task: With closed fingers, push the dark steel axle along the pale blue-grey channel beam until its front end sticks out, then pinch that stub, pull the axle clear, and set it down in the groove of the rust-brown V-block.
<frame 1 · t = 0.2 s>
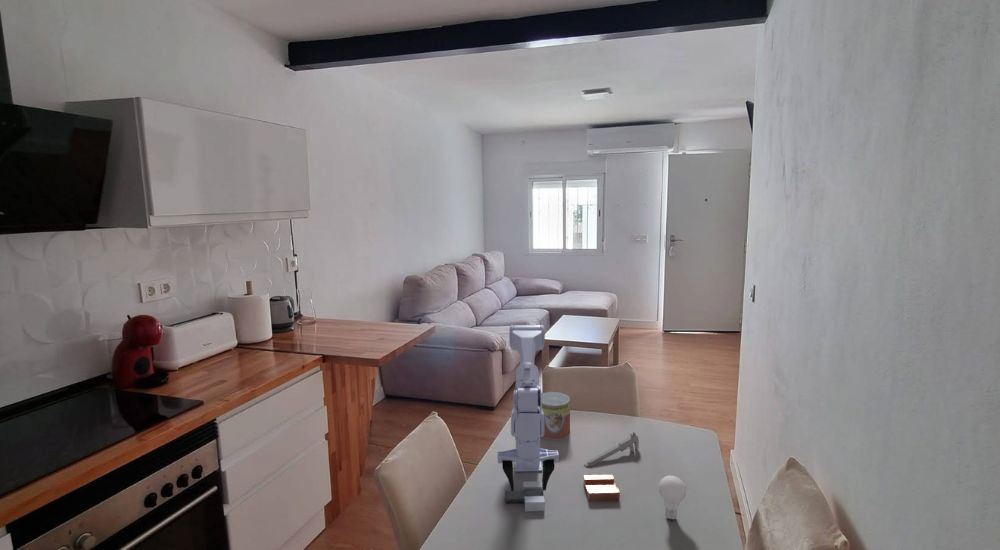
hand: (528, 488, 116), 10 cm above the table, tool pointing down, fingers open, 7 cm apart
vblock: (601, 492, 130), on the table
axle: (524, 501, 127), on the table
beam: (533, 500, 127), on the table
lightbulb: (670, 518, 119), on the table
caliper: (612, 459, 147), on the table
canned food: (553, 432, 163), on the table
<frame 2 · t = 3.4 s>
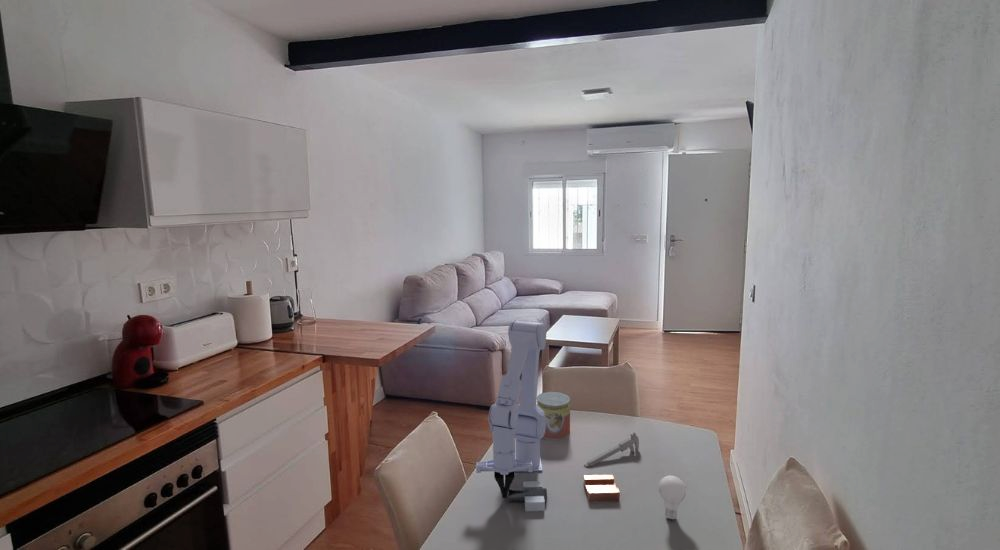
hand: (504, 495, 127), 1 cm above the table, tool pointing down, fingers closed
axle: (527, 500, 127), on the table, tilted 7°, touching gripper
everything else where it was.
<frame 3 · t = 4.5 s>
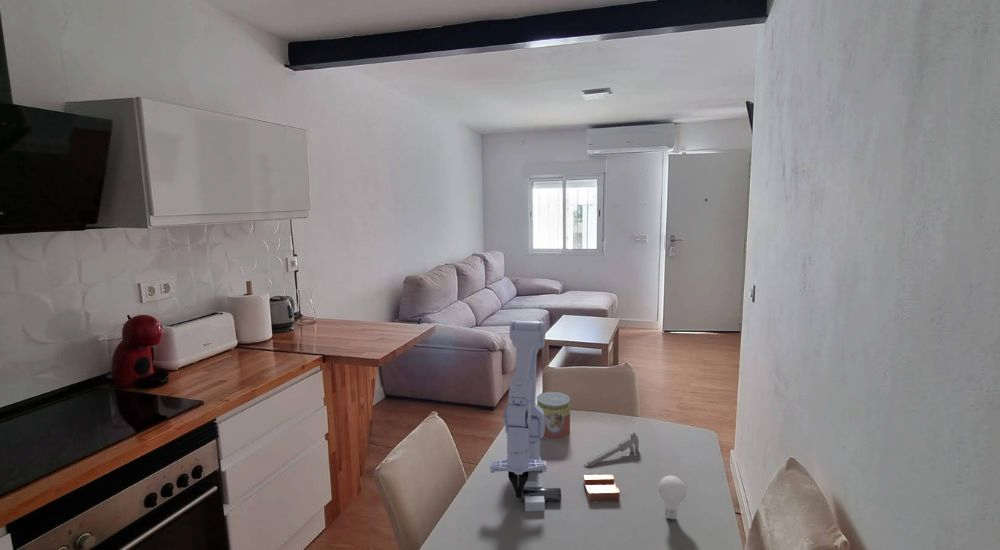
hand: (518, 495, 127), 1 cm above the table, tool pointing down, fingers closed
axle: (541, 499, 127), on the table, tilted 7°, touching gripper
everything else where it was.
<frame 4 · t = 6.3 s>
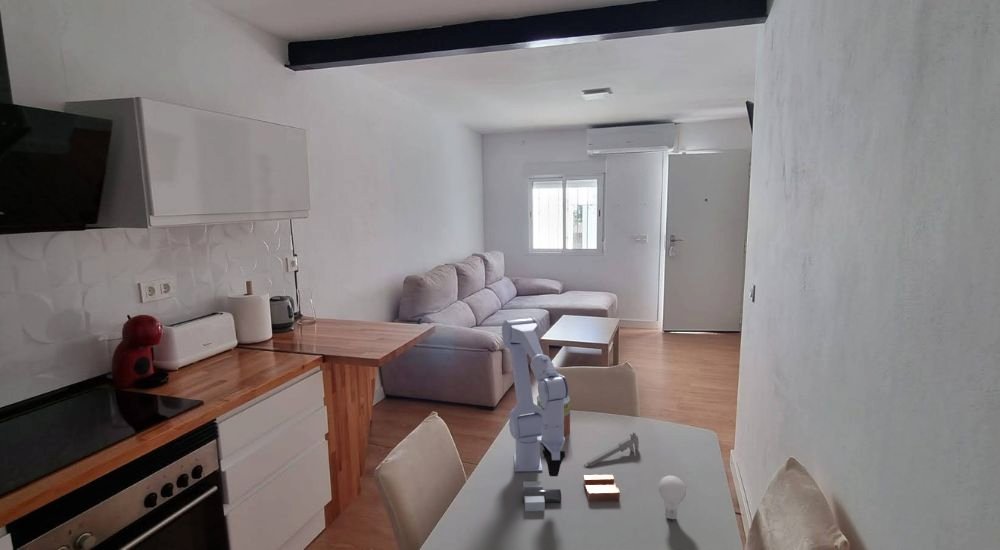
hand: (552, 470, 126), 8 cm above the table, tool pointing down, fingers open, 4 cm apart
axle: (541, 500, 127), on the table
everything else where it was.
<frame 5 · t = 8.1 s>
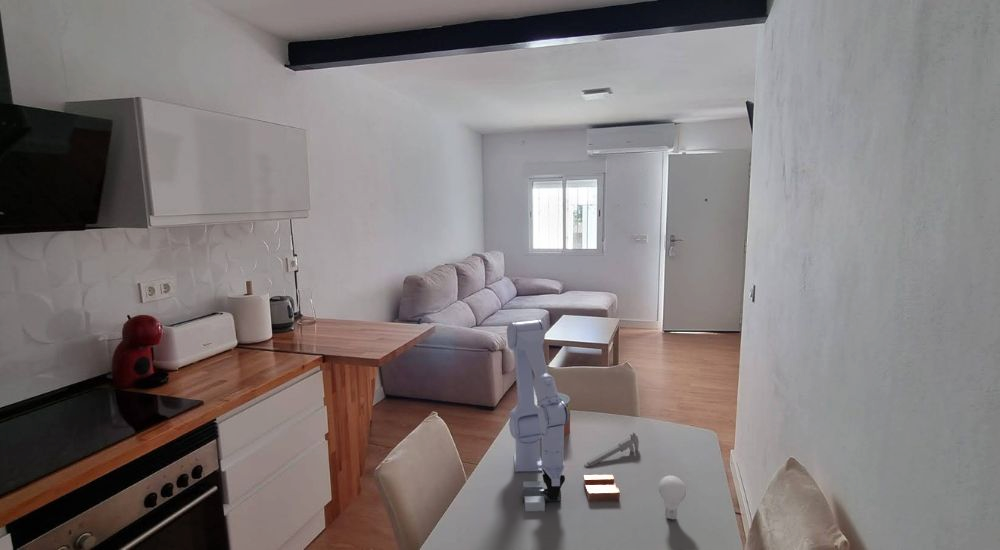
hand: (552, 495, 127), 1 cm above the table, tool pointing down, fingers closed on axle, 3 cm apart
axle: (541, 500, 127), on the table, touching gripper
everything else where it was.
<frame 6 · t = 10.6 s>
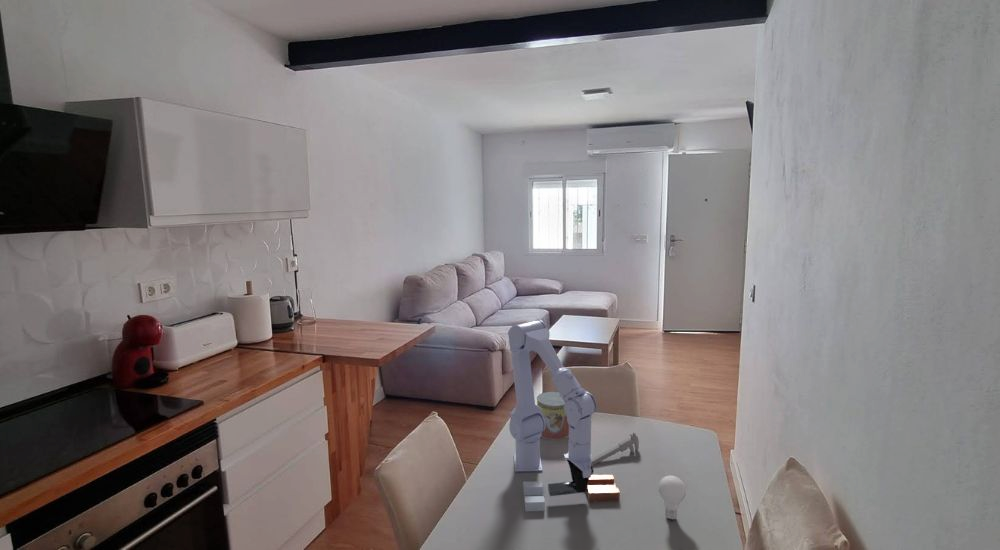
hand: (578, 487, 126), 4 cm above the table, tool pointing down, fingers closed on axle, 3 cm apart
axle: (568, 493, 126), point 2 cm above the table, touching gripper
everything else where it was.
when the fingers open (4 cm above the table, at t = 13.1 s): axle stays where it is, resting on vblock.
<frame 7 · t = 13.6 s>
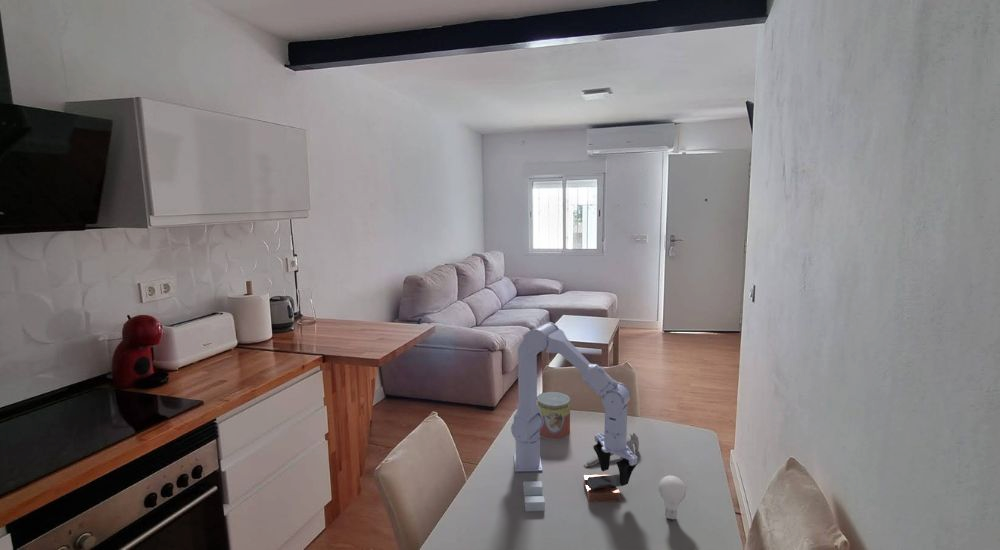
hand: (614, 476, 129), 4 cm above the table, tool pointing down, fingers open, 7 cm apart
axle: (606, 487, 128), point 2 cm above the table, tilted 24°, touching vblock
everything else where it was.
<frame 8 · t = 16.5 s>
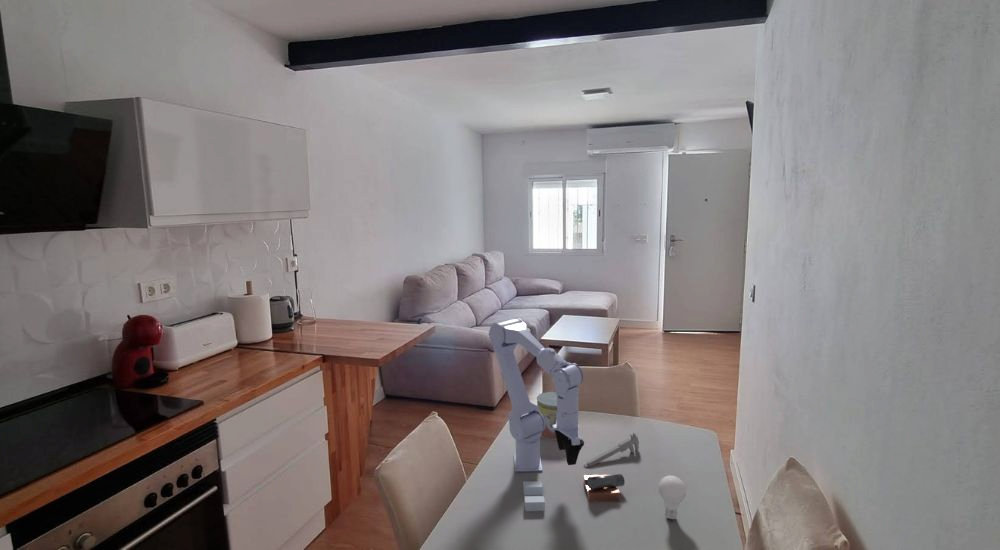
hand: (567, 456, 130), 9 cm above the table, tool pointing down, fingers open, 7 cm apart
nothing on the table moved.
at the end: axle 1.8 cm off-centre on the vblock, point 2.2 cm above the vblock's base; the gripper is holding nothing; axle moved 22.2 cm from its start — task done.
